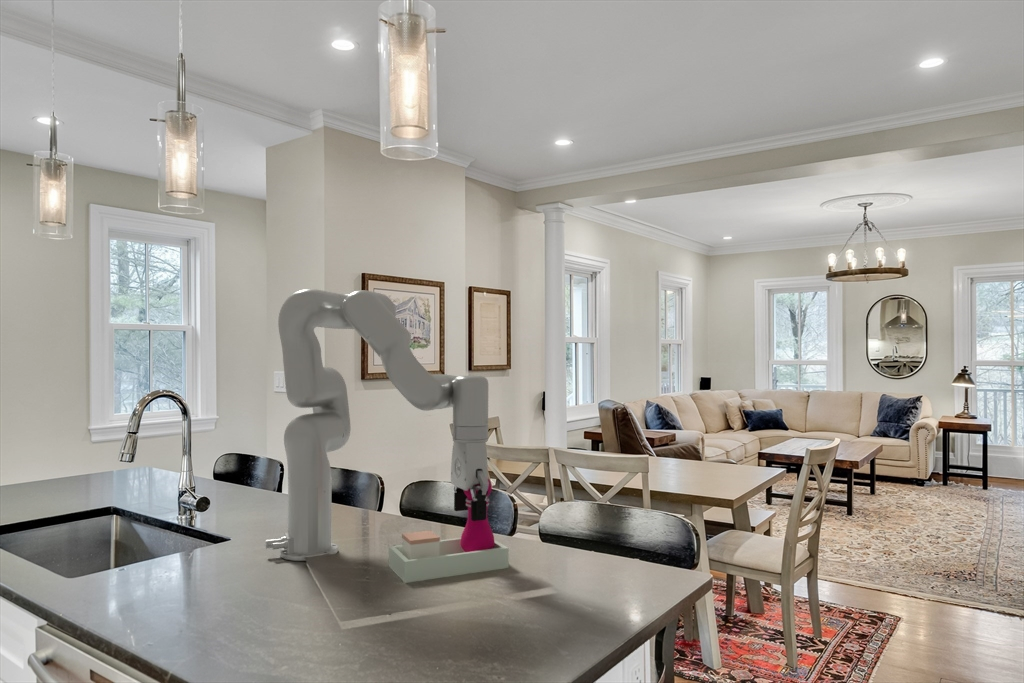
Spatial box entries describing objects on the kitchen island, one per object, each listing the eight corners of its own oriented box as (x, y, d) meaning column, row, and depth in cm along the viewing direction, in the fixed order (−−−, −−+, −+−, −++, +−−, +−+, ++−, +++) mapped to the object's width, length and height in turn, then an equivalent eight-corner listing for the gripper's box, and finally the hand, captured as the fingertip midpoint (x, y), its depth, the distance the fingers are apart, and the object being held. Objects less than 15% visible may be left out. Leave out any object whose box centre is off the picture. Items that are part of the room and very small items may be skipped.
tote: (405, 588, 129) (405, 561, 129) (388, 570, 140) (388, 546, 140) (508, 572, 139) (508, 548, 139) (485, 557, 149) (485, 534, 150)
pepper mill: (490, 569, 137) (489, 471, 138) (456, 567, 139) (456, 470, 140) (498, 559, 144) (497, 465, 145) (465, 557, 146) (465, 465, 147)
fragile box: (410, 576, 133) (410, 540, 133) (401, 568, 138) (401, 533, 138) (439, 572, 135) (439, 537, 136) (430, 564, 141) (430, 530, 141)
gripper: (440, 430, 149) (439, 508, 148) (469, 439, 133) (468, 526, 132) (471, 429, 152) (470, 505, 151) (503, 437, 136) (502, 522, 136)
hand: (469, 515), depth 142 cm, fingers open, 9 cm apart
